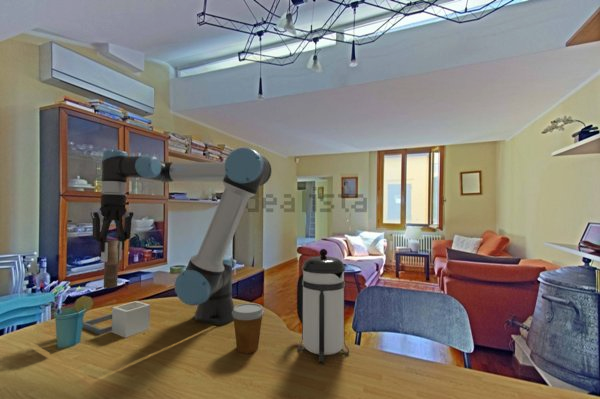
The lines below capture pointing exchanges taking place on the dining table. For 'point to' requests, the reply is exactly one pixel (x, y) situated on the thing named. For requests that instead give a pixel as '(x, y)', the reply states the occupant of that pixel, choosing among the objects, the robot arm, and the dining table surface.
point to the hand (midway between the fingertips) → (111, 260)
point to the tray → (89, 326)
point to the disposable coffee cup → (247, 326)
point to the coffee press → (322, 305)
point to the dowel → (111, 264)
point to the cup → (70, 321)
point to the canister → (130, 318)
